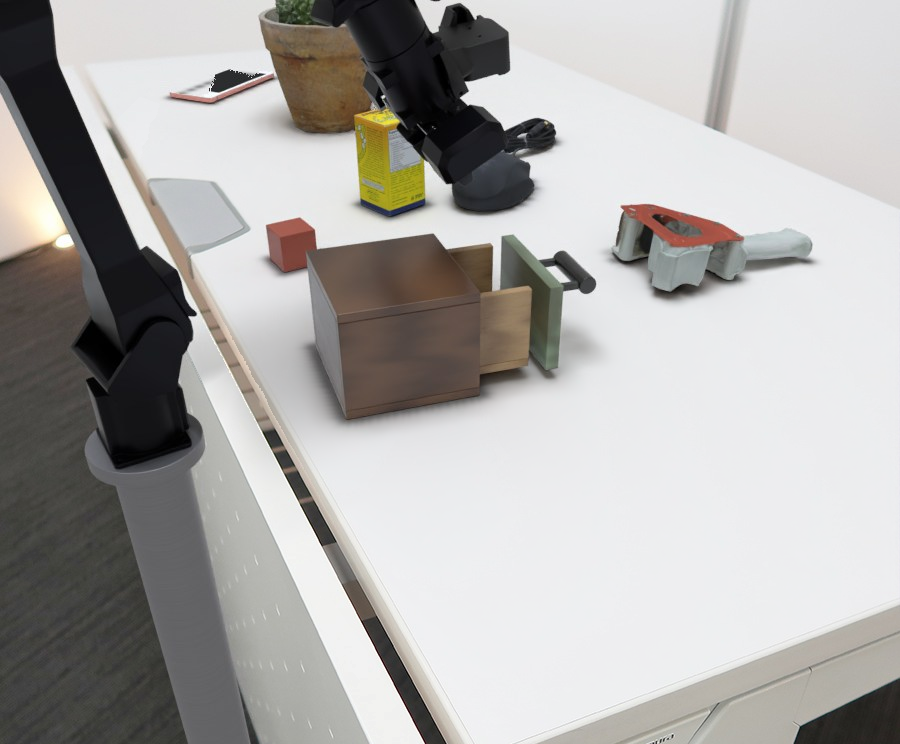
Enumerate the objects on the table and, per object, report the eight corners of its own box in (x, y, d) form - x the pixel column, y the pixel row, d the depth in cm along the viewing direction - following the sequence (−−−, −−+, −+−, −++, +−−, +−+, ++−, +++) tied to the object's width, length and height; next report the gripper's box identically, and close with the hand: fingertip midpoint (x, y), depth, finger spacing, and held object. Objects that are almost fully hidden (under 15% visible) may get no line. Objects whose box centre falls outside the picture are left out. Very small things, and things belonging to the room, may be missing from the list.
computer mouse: (439, 211, 112) (438, 166, 109) (506, 132, 137) (507, 94, 134) (515, 219, 110) (516, 174, 107) (568, 137, 135) (571, 98, 131)
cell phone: (168, 97, 153) (167, 91, 153) (235, 71, 166) (234, 66, 166) (211, 103, 150) (210, 97, 149) (275, 77, 163) (275, 71, 162)
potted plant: (360, 147, 132) (348, -50, 117) (247, 133, 137) (221, -56, 123) (409, 111, 146) (403, -68, 131) (304, 100, 151) (288, -73, 136)
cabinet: (435, 327, 88) (433, 232, 83) (479, 395, 79) (481, 292, 73) (315, 347, 85) (305, 250, 80) (346, 419, 76) (336, 315, 70)
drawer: (552, 303, 90) (557, 227, 86) (604, 359, 81) (612, 278, 77) (406, 327, 86) (403, 249, 82) (443, 388, 78) (442, 305, 73)
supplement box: (395, 192, 117) (391, 103, 111) (426, 205, 114) (424, 114, 107) (358, 204, 114) (352, 113, 108) (389, 217, 111) (384, 125, 104)
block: (284, 272, 98) (279, 237, 96) (270, 259, 101) (265, 224, 99) (318, 264, 100) (315, 229, 98) (303, 251, 103) (300, 216, 100)
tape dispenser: (806, 267, 102) (632, 227, 108) (821, 221, 99) (640, 182, 105) (782, 331, 88) (584, 280, 95) (798, 279, 85) (592, 231, 92)
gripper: (528, 18, 68) (588, 176, 80) (430, -52, 81) (495, 94, 92) (405, 105, 69) (482, 250, 80) (326, 22, 81) (403, 158, 93)
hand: (467, 182), depth 86 cm, fingers closed
